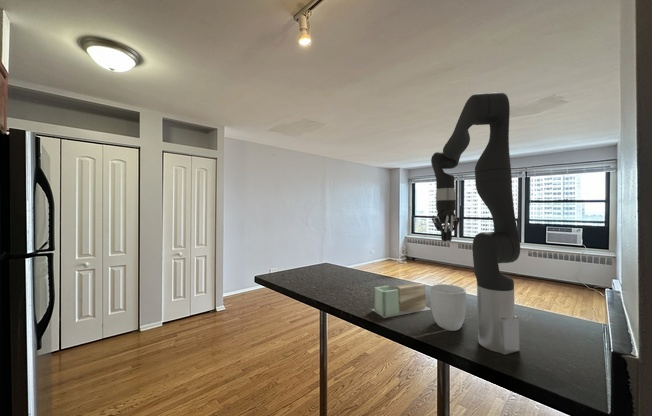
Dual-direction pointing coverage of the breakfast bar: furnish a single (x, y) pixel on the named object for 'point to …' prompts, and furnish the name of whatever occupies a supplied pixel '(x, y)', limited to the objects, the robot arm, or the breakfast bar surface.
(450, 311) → the mug
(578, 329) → the breakfast bar surface
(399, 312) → the board
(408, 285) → the tan wooden block
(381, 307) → the end cap
